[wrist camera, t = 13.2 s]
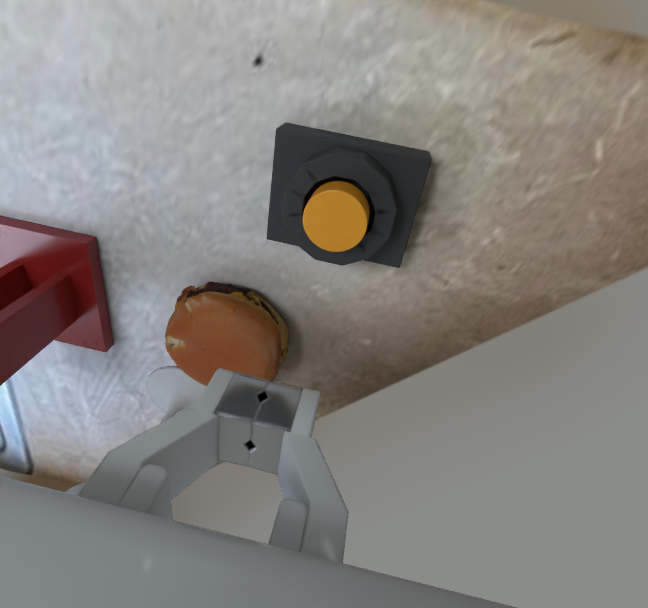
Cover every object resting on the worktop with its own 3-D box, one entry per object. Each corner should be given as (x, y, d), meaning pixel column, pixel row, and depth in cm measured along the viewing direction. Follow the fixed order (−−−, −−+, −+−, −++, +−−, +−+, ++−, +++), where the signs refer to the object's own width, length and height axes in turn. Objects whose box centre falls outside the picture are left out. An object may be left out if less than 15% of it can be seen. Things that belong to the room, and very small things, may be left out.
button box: (285, 122, 25) (267, 134, 22) (429, 151, 25) (433, 168, 22) (275, 227, 29) (258, 250, 26) (399, 253, 29) (399, 281, 26)
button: (312, 174, 23) (307, 183, 22) (375, 187, 23) (374, 197, 22) (304, 233, 25) (298, 245, 24) (362, 245, 25) (359, 258, 24)
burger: (298, 371, 36) (285, 411, 32) (199, 366, 38) (176, 403, 34) (282, 271, 31) (264, 304, 27) (169, 271, 33) (137, 302, 29)
